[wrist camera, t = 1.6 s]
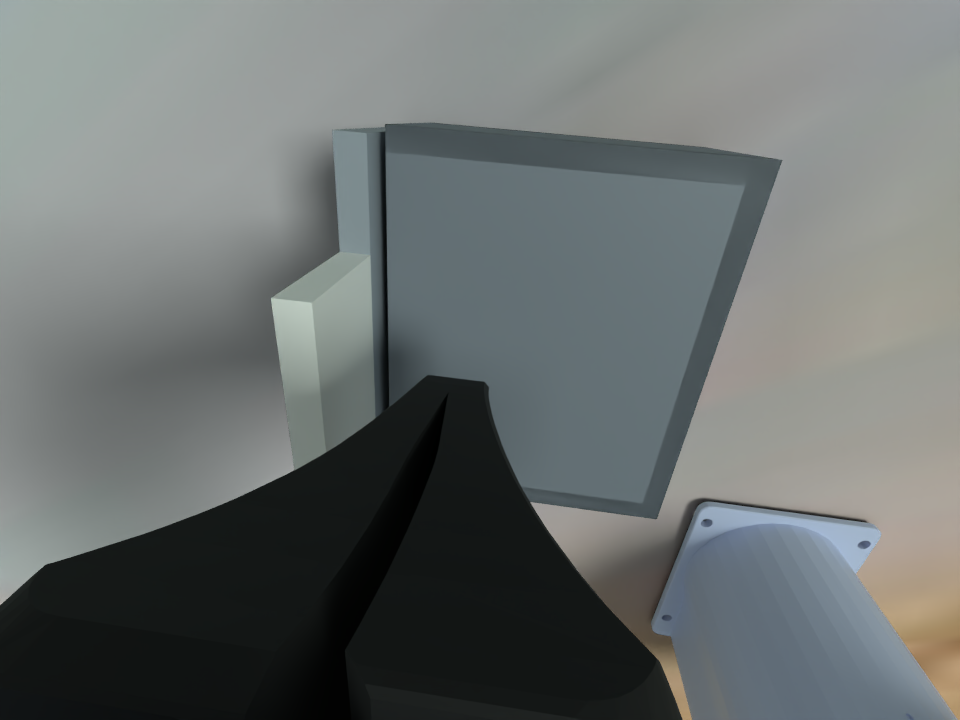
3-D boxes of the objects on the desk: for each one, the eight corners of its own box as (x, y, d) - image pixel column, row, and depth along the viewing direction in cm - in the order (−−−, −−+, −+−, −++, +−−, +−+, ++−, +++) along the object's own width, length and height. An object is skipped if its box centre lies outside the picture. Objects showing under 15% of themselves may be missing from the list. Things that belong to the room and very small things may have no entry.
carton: (628, 423, 20) (656, 519, 15) (424, 398, 21) (390, 482, 16) (703, 147, 15) (782, 160, 10) (432, 122, 16) (385, 124, 11)
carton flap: (415, 399, 20) (337, 578, 12) (397, 396, 20) (309, 574, 12) (420, 128, 15) (296, 138, 7) (396, 126, 15) (248, 134, 8)
